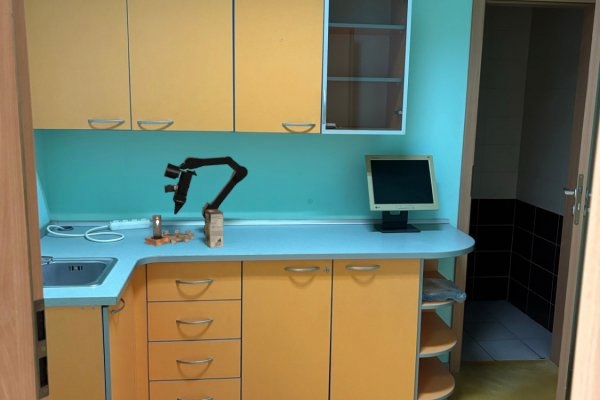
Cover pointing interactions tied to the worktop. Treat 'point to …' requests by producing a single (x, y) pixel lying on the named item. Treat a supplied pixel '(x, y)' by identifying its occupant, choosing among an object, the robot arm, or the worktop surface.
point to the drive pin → (157, 227)
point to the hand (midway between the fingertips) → (175, 212)
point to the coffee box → (214, 228)
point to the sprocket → (171, 238)
